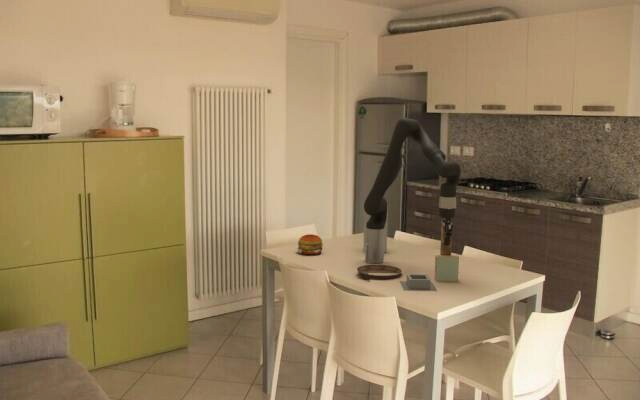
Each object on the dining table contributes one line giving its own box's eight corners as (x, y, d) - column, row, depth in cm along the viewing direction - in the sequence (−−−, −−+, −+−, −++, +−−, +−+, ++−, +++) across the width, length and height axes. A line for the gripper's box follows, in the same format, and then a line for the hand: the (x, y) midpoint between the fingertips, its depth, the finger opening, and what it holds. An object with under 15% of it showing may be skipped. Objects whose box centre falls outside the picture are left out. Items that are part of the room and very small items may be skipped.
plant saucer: (373, 268, 292) (373, 261, 292) (410, 276, 279) (410, 269, 279) (347, 276, 276) (347, 269, 276) (385, 285, 263) (385, 278, 263)
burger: (327, 254, 319) (328, 235, 317) (306, 257, 311) (306, 238, 310) (313, 249, 330) (313, 231, 328) (292, 252, 322) (292, 233, 321)
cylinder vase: (391, 252, 325) (392, 206, 321) (373, 255, 318) (374, 208, 314) (376, 248, 335) (377, 203, 331) (358, 250, 328) (359, 205, 324)
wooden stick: (441, 260, 270) (443, 225, 268) (440, 258, 274) (441, 224, 272) (450, 260, 270) (452, 225, 268) (448, 258, 274) (450, 224, 272)
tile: (435, 283, 267) (436, 256, 265) (434, 281, 270) (435, 255, 268) (457, 283, 267) (459, 257, 265) (456, 281, 270) (457, 255, 268)
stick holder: (403, 292, 252) (404, 281, 251) (399, 283, 266) (400, 272, 265) (437, 293, 252) (437, 281, 251) (431, 283, 266) (431, 272, 265)
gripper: (436, 204, 276) (434, 240, 278) (442, 209, 261) (440, 247, 264) (452, 204, 276) (450, 241, 278) (459, 209, 261) (457, 247, 264)
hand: (445, 244), depth 271 cm, fingers closed on wooden stick, 4 cm apart
